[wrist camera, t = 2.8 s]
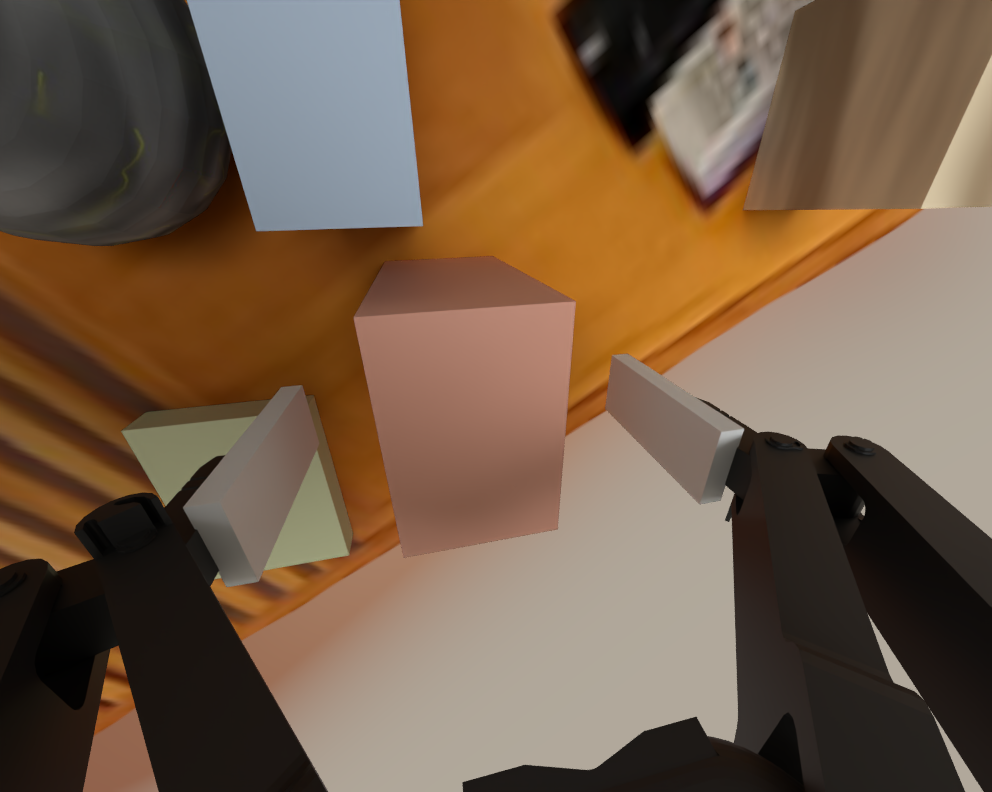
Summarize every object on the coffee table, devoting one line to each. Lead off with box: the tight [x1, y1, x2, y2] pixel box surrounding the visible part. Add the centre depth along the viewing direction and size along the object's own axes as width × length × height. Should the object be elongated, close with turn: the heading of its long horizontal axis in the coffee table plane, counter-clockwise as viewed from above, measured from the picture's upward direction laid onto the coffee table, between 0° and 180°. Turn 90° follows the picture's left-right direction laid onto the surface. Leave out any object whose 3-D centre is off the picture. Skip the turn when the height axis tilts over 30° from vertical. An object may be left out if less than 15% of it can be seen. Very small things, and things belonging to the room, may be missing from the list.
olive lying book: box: [121, 395, 353, 579], centre depth 23 cm, size 12×9×2 cm
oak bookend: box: [743, 0, 992, 210], centre depth 17 cm, size 4×9×9 cm, turn 2°
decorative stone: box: [0, 0, 232, 246], centre depth 11 cm, size 10×10×10 cm
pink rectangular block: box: [354, 256, 576, 558], centre depth 17 cm, size 6×9×12 cm, turn 1°
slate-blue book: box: [187, 0, 423, 231], centre depth 12 cm, size 4×9×11 cm, turn 2°
